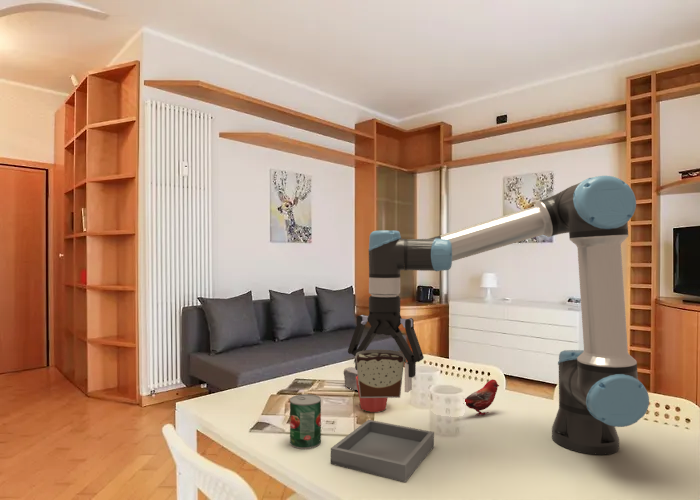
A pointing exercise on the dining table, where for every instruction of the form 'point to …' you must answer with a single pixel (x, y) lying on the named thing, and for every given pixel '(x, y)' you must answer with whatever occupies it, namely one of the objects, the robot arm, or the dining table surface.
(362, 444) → the tray
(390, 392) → the food container
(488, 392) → the decorative bird figurine
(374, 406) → the flower pot
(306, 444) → the canned tomato
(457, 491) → the dining table surface
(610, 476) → the dining table surface
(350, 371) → the decorative stone
